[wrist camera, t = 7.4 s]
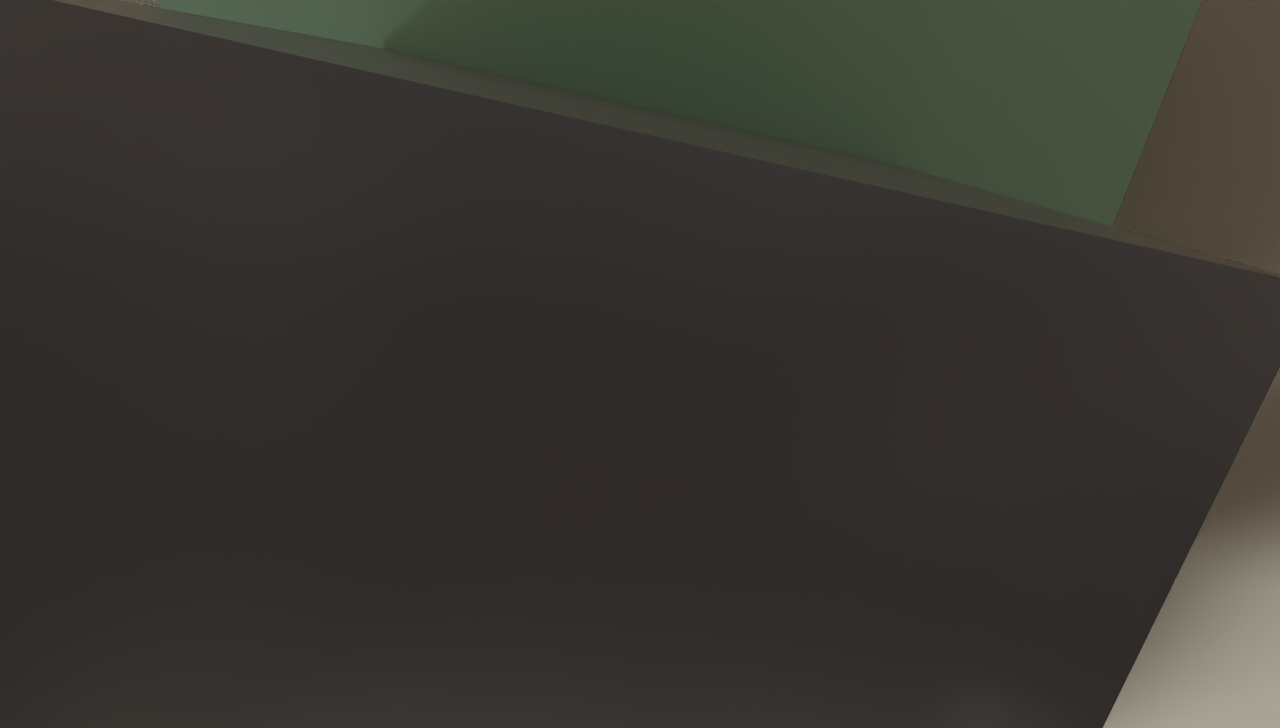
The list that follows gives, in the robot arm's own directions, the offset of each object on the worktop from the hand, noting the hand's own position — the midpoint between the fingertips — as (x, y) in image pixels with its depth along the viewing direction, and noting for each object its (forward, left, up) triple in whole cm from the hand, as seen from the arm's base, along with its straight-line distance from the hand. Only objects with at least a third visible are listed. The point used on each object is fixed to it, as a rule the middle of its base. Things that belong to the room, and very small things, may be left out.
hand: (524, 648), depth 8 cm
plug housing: (0, 0, -1) cm, 1 cm away
